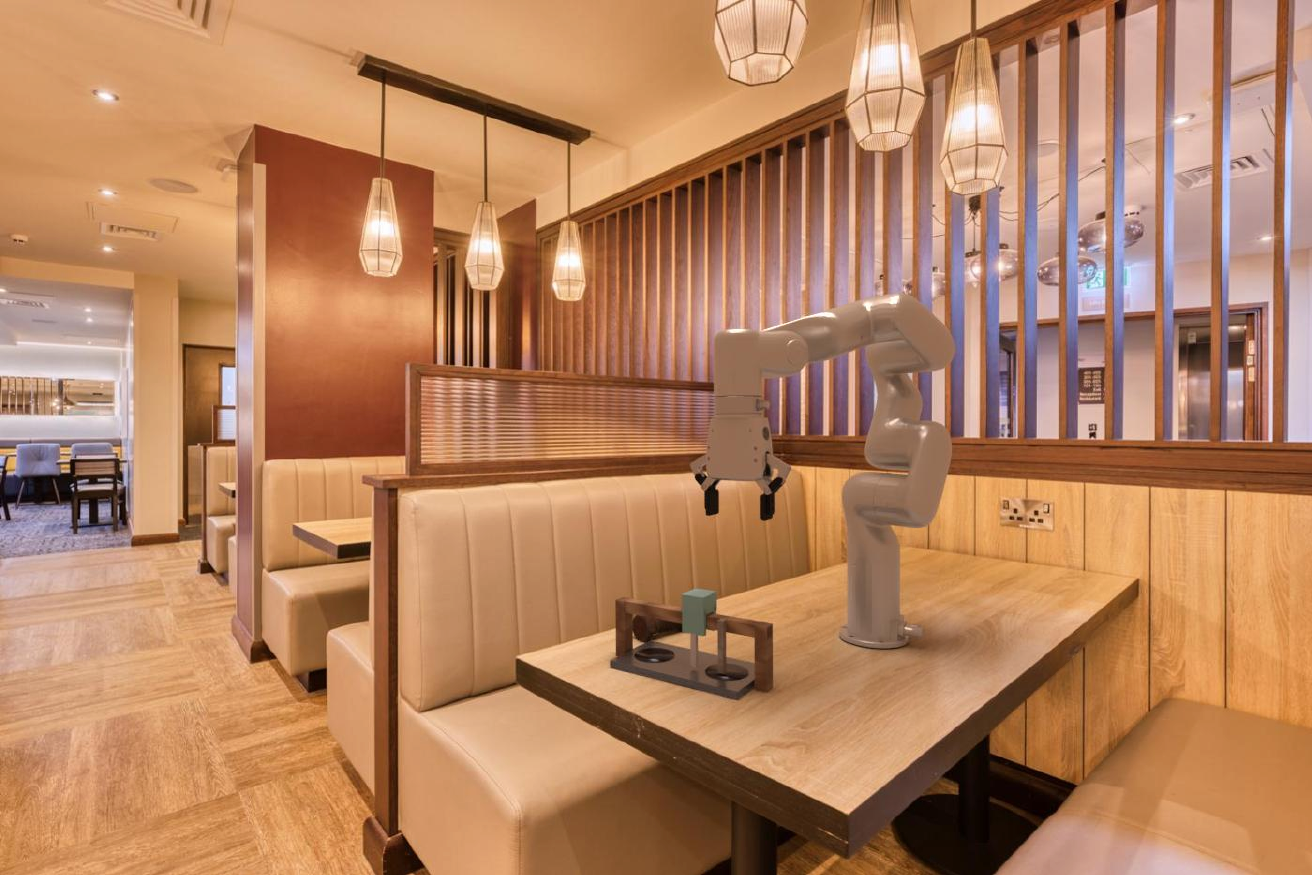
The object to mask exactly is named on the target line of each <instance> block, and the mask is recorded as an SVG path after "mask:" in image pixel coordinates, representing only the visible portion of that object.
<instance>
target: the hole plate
mask: <svg viewBox="0 0 1312 875" xmlns="http://www.w3.org/2000/svg"><path fill="white" fill-rule="evenodd" d="M609 665H610V666H609V667H610V668H612V669H616V670H620V671H624V672H627V673H630V674H635V675H640V676H643V677H647V678H650V679H655V680H658V681H663V682H667V683H671V684H675V685H679V686H682V687H685V688H691V689H694V690H697V691H701V692H706V693H710V694H713V695H716V696H721V697H724V698H729V699H732V700H736V701H738V700H740V699H741V698H742V697H743V696H745V695H746V694H747V693H748V692H750V691H751V690H752V689H755V662H751V661H747V660H746V661H745V660H742V659H737V658H733V657H728V656H726V672H725V673H724V674H722V673H718V654H714V653H710V652H705V651H702V650H698V666H697V667H692V666H691V664H690V648H687V647H682V646H677V645H672V644H670V643H669V644H668V643H664V642H659V641H655V640H650V641H648V642H646V643H645V642H643V643H642V644H640V645H638V646H636V647H634V648H633V649H632V650H630V651H628V652H626V653H624V654H622V655H620V656H615V657H614V658H611V659H610V660H609Z"/></svg>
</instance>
